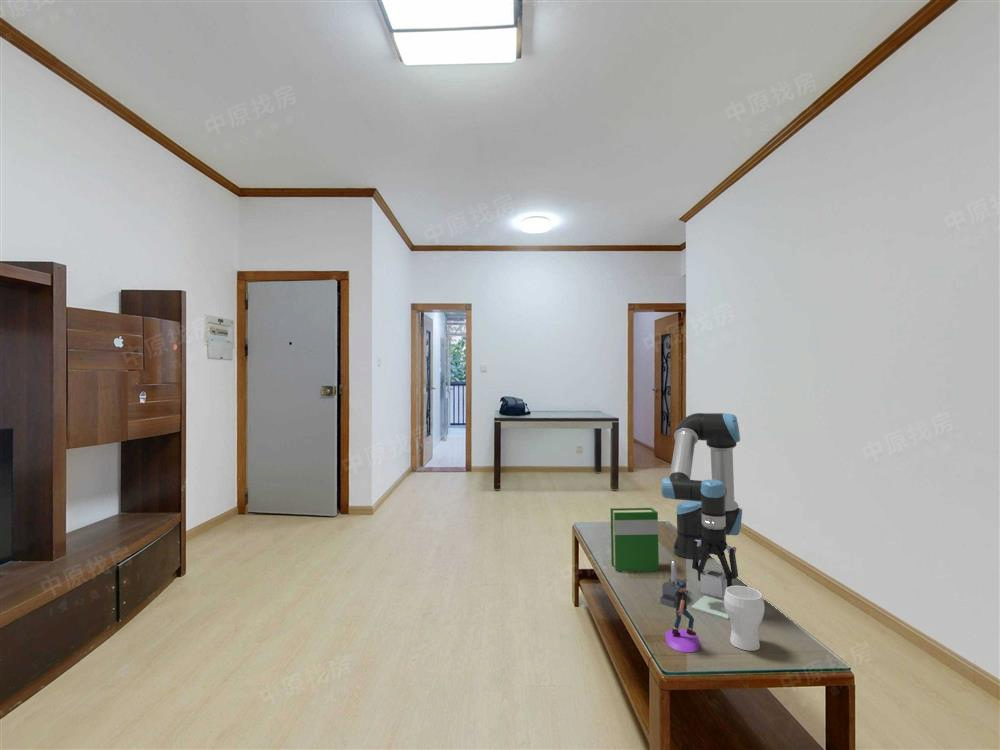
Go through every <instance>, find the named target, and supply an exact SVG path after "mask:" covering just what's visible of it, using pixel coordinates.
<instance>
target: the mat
mask: <svg viewBox="0 0 1000 750" xmlns="http://www.w3.org/2000/svg"><path fill="white" fill-rule="evenodd" d="M690 610H693V611H694V610H695V611H697V612H700V613H703V614H707V615H711V616H713V617H717V618H719V619H723V620H727V621H729V620H730V619H729V617H728V615H727V612H726V609H725V606H724V600H722V599H719V598H714V597H711V596H707V595H705V594H704V595H703V596H702V597H700V598H699V599H698V600H696V602H695V603H693V604H692V606H690Z"/></svg>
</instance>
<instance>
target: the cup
mask: <svg viewBox="0 0 1000 750" xmlns="http://www.w3.org/2000/svg"><path fill="white" fill-rule="evenodd" d="M723 601H724V606H725V609H726V612H727V615H728V617H729V620H730V625H731V632H730V639H729V640H730V643H731V645H732V646H734V647H736V648H737V649H740V650H744V651H749V652H753V651H757V650H759V649H760V647H761V646H760V639H759V634H758V631H759V626H760V625H761V623H762V621H763V619H764V615H765V601H764V598H763V595H762V593H761V592H760V591H758V590H757V589H755V588H752V587H749V586H744V585H732V586H730V587H728V588H726V591H725V595H724V597H723Z"/></svg>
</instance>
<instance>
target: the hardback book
mask: <svg viewBox="0 0 1000 750" xmlns="http://www.w3.org/2000/svg"><path fill="white" fill-rule="evenodd" d="M658 517H659V514H658V511H657V510H655V509H654V508H653V507H617V508H616V507H614V508H613V507H612V508H610V550H611V551H610V552H611V553H610V555H611V564H612V565H614V566H613V567H614V571H647V572H659V571H660V568H659V567H660V566H659V565H660V561H659V560H660V559H659V520H658V519H659V518H658ZM612 565H611V566H612Z"/></svg>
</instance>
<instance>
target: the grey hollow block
mask: <svg viewBox="0 0 1000 750" xmlns="http://www.w3.org/2000/svg"><path fill="white" fill-rule="evenodd" d="M703 571H704V572H702V573H701V574H700V581H699V582H700V593H702V592H703V594H707V595H710V596H714V597H716V598H717V597H719V598H721V599H722V598H724V579H725V578H726V575H725V573H724V571H722V570H721V571H720V570H716V569H712V568H708V567H707V569H704V570H703Z"/></svg>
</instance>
